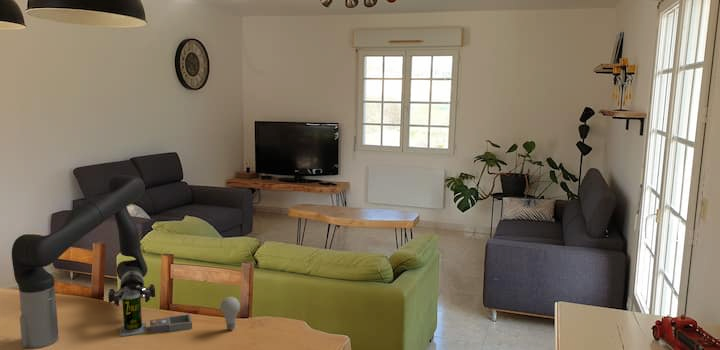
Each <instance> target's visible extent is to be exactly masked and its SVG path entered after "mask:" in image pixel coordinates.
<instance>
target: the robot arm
mask: <svg viewBox="0 0 720 350" xmlns="http://www.w3.org/2000/svg"><path fill="white" fill-rule="evenodd" d="M107 187H108V189H107V191H108V193H106V194H102V195H98V196H95V197H91V198H88V199H86V200H85V201H83V202H80V203H79V204H78V205H76V206H75V207H73V208H72V209H71V210H69V212H68V213H67V215H66V216H65V219H64V222H63V225H61V226H60V227H59V228H57V229H56V230H54V231H53V232H51V233H49V234H46V235H40V234H39V235H38V234H30V233H27V234H22V235H19V236H18V237H17V238H16V239H15V240H14V242H13V245H12V248H11V262H12V269H13V275H14V276H13V277H14V280H15V282H16V284H17V286H18V292H19V294H18V295H19V303H20V304H19V305H20V314H21V315H20V316H19V323H20V324H19V325H20V335H21V346H22V349H23V348H24V349H25V348H28V349H29V348H31V349H37V348H43V347H47V346H50V345H52V344H54V343H56V342H57V341H58V340H59V339H60V338H59V337H60V336H59V327H58V326H59V324H58V311H57V300H56V299H57V298H56V288H55V287H56V285H55V284H56V283H55V278H54V275H52V274H51V273H50V272H48V271H47V270H46V269H45V267H47V266H50V265H51V264H53V263H54V262H56V261H57V260H58V259H59V258H60V257H61V256H62V255H63V254H64V253H66V251H67V250H69V248H71V247H72V246H73V245H74V244H75V243H77V242H78V241H79V240H81V239H83V238H84V237H85V236H87V235H88V234H89V233H90V232H93V230H95V229H97V228H98V227H100V226H101V225H102V224H103V223H105V222H106V221H107V220H108V219H110V218H111V217H113V216H114V219H115V221H116V226H117V231H118V240H119V242H118V243H119V252H120V254H121V256H124V257H130V258H134V259H132V260H131V259H130V260H123V261H120V262H119V263H118V264H117V267H116V275H117V277H118V279H119V280H120V284H119V286H120V288H119V289H118V290H115V289H114V288H110V289H109V292H108V303H112V302H114V303H113V304H114V305H115V306H116V307H119V306H120V302H122V296H123V293H124V292H127V291H131V290H137V291H139V292H140V295H141V299H145V303H149V302H150V299H151V298H156V288H155V285H154V284H153V283H152V284H149V286H145V283H144V281H145V280H144V277H145V276H147V274H148V266H147V263H146V261H145V259H144V256H143V253H142V249H141V248H142V247H141V238H140V232H139V228H138V227H137V224H136V222H135V221H134V219H133V217H132V216H131V214H130V212H129V210H128V206H131V205H132V204H133V203H135V202H137V201H139V199H141V198H142V196H143V195H144V193H145V190H146V184H145V182H144V179H142V178H141V177H138V176H136V175H126V174H125V175H123V174H117V175H116V174H115V175H113V176H112V177H111V178H110V179H109V182H108V185H107Z"/></svg>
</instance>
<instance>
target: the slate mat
mask: <svg viewBox="0 0 720 350" xmlns="http://www.w3.org/2000/svg"><path fill="white" fill-rule="evenodd" d="M144 334H148V332H147V322H142V327H141V329H140V330H138V331H135V332H127V331H125V329H124V325H120V338H122V337H123V338H124V337H129V336H130V337H131V336H137V335H144Z"/></svg>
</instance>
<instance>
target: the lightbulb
mask: <svg viewBox="0 0 720 350" xmlns="http://www.w3.org/2000/svg"><path fill="white" fill-rule="evenodd" d="M240 309H241V303H240V301H239V299H237V298H236V297H235V296H227V297H225V298H224V299H223V300H222V301H221V303H220V311H221V312H222V314H223V315H224V318H225V323H226V329H228V330H229V331H232V330H234V329H235V327H236V320H237V315H238V313H239V311H240Z"/></svg>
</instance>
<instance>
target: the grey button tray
mask: <svg viewBox="0 0 720 350" xmlns="http://www.w3.org/2000/svg"><path fill="white" fill-rule="evenodd" d="M191 317H192V316H191V313H186V314H179V315H173V316H172V315H171V316H167V317H164V318H156V319H150V320H149V328H150V334H157V333H158V334H159V333H164V332H165V333H166V332H169V333H170V332H177V331H178V332H180V331H185V330H193V321H192V318H191Z"/></svg>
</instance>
